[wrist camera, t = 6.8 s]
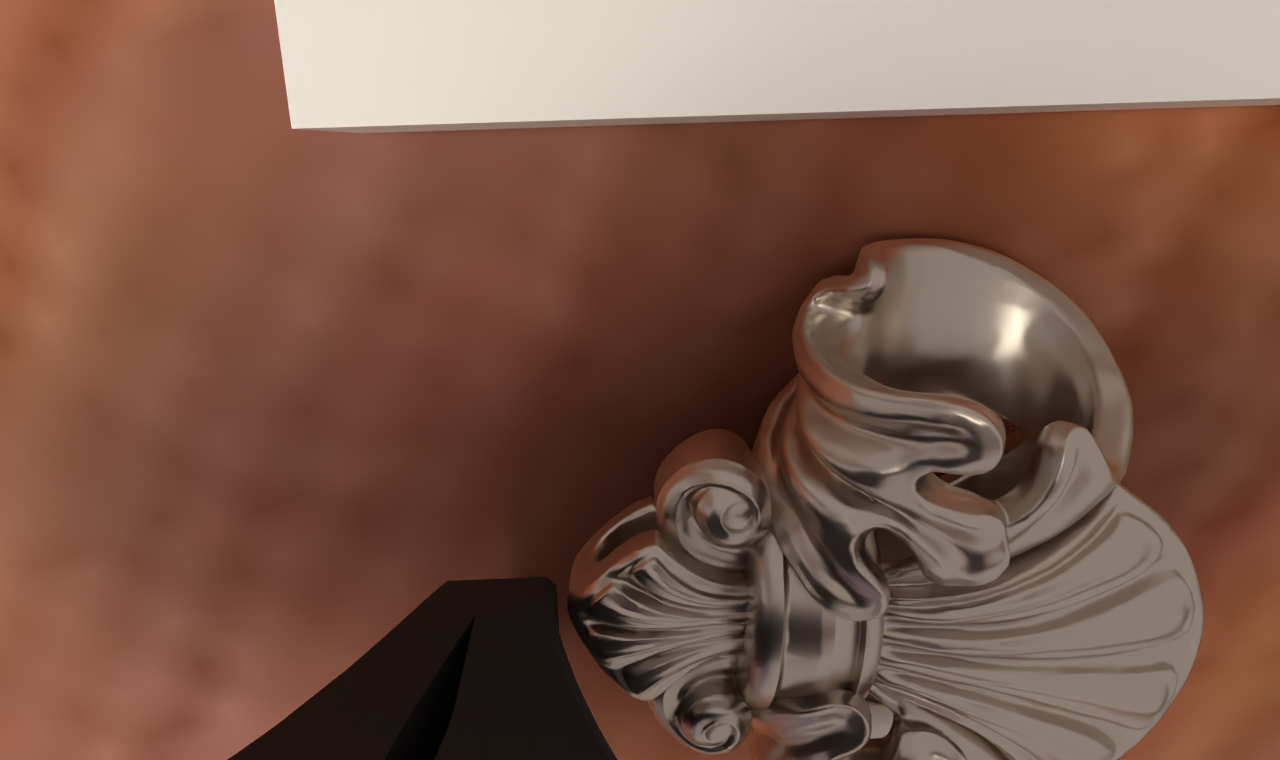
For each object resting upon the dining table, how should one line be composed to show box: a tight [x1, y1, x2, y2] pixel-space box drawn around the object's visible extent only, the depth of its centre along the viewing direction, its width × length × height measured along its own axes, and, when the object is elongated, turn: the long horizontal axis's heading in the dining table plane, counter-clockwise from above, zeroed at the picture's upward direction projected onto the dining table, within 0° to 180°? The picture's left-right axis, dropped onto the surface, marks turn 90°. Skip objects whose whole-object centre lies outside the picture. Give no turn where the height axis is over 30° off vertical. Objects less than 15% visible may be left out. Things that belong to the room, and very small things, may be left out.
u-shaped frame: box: [274, 0, 1280, 133], centre depth 10 cm, size 16×15×2 cm
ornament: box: [567, 238, 1204, 760], centre depth 10 cm, size 8×7×4 cm
